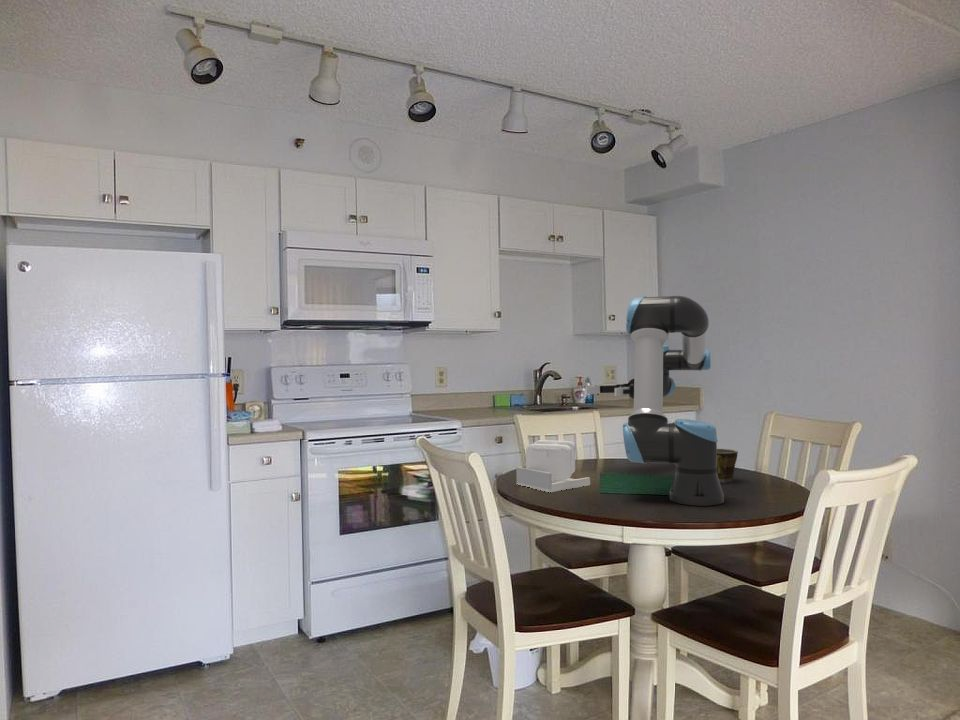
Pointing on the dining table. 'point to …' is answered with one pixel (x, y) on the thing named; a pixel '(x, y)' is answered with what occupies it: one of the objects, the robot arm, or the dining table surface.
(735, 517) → the dining table surface
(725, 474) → the ceramic cup
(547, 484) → the tray
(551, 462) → the cable organizer
